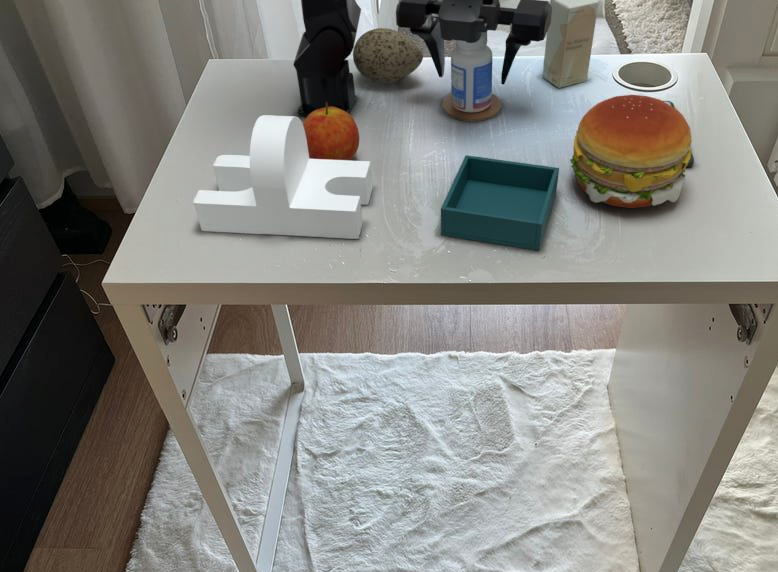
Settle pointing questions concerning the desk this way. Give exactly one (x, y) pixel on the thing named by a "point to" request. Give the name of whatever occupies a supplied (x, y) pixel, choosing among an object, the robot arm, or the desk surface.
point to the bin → (500, 202)
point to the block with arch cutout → (285, 188)
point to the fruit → (331, 134)
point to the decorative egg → (386, 55)
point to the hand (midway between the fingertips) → (472, 79)
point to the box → (569, 41)
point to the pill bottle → (471, 75)
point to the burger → (632, 151)
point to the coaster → (467, 116)
